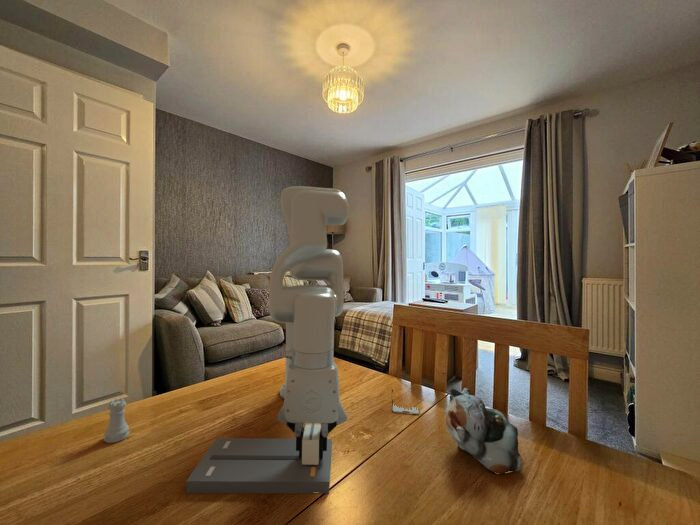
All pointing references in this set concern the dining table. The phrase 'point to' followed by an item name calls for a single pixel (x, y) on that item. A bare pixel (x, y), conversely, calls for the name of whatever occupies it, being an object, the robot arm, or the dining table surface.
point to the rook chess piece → (116, 422)
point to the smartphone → (401, 410)
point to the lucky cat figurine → (483, 432)
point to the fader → (311, 445)
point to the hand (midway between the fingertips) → (311, 452)
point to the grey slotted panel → (258, 468)
